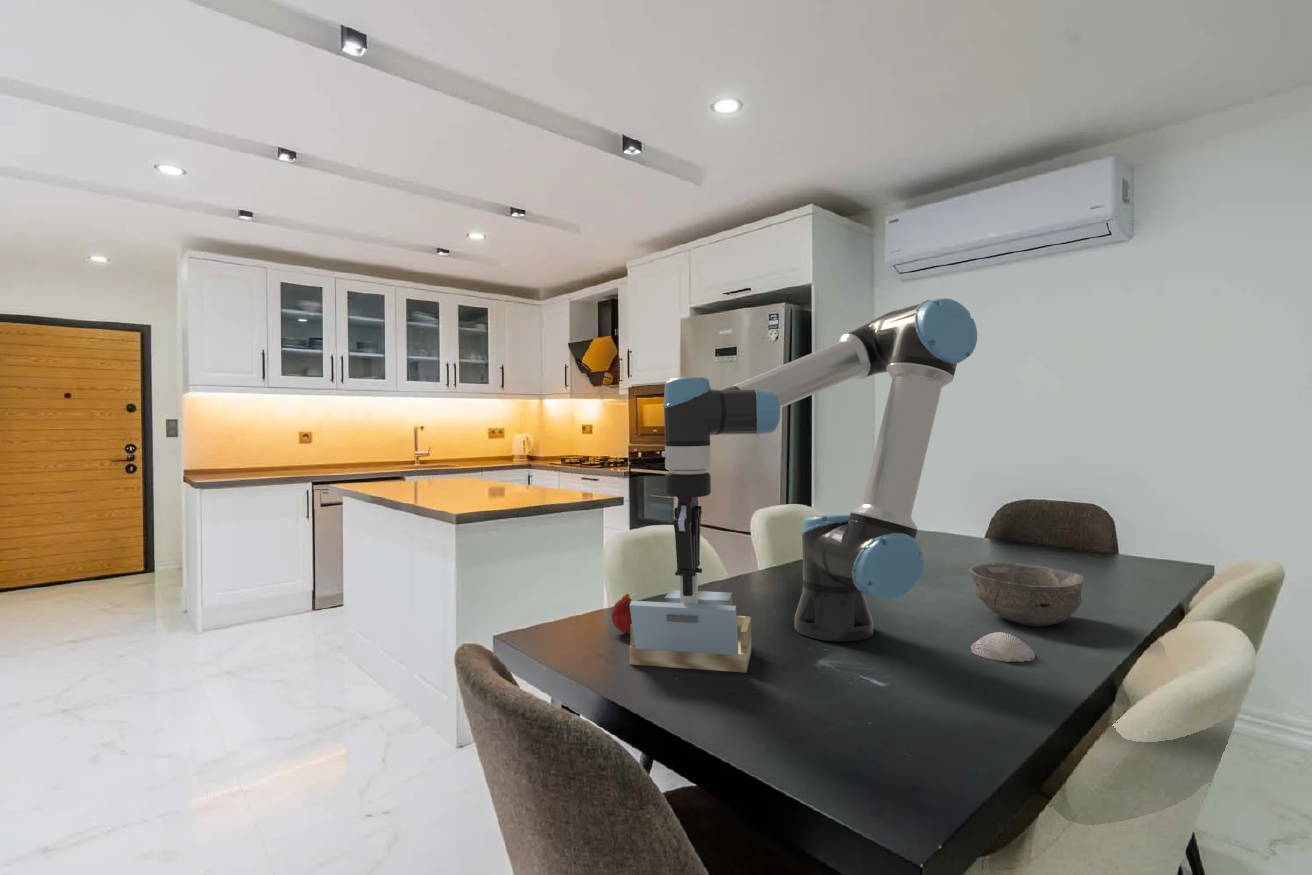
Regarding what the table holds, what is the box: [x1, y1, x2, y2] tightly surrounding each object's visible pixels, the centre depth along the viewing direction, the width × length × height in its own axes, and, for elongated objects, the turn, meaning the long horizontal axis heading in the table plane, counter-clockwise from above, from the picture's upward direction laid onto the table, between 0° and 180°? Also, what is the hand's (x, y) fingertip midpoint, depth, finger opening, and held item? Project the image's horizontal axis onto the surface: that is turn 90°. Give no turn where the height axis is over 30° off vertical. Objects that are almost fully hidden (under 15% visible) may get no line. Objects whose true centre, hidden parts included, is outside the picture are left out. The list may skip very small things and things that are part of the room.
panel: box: [630, 600, 739, 655], centre depth 107 cm, size 17×2×9 cm, turn 77°
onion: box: [611, 592, 634, 635], centre depth 128 cm, size 6×6×8 cm
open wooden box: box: [628, 589, 752, 673], centre depth 117 cm, size 20×17×9 cm
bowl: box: [969, 562, 1085, 627], centre depth 134 cm, size 21×21×10 cm
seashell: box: [970, 631, 1036, 663], centre depth 115 cm, size 10×6×10 cm
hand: (689, 613), depth 107 cm, fingers closed
